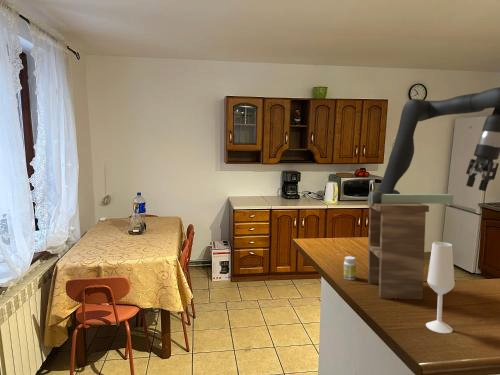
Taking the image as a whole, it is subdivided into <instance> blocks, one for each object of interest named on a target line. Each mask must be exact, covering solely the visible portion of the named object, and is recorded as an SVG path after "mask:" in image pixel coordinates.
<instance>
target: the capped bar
mask: <svg viewBox="0 0 500 375" xmlns="http://www.w3.org/2000/svg"><path fill="white" fill-rule="evenodd" d="M368 200H369V203H374V204H381V203H421V204H424V205H427V204H431V205H432V204H451V205H452V204H454V194H450V193H400V194H383V192H381V191H378V190H376V191H375V190H374V191H373V190H371V191H369V193H368Z"/></svg>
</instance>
